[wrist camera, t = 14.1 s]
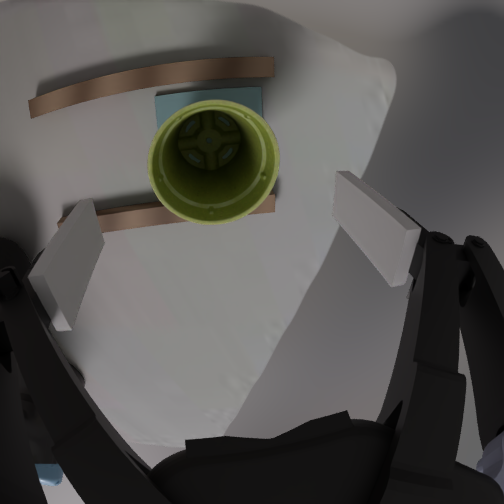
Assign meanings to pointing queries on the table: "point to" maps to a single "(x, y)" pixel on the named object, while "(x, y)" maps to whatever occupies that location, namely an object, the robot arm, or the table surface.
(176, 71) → the pair of walnut rails
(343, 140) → the table surface
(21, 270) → the speaker
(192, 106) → the plant pot
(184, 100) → the marked pad
